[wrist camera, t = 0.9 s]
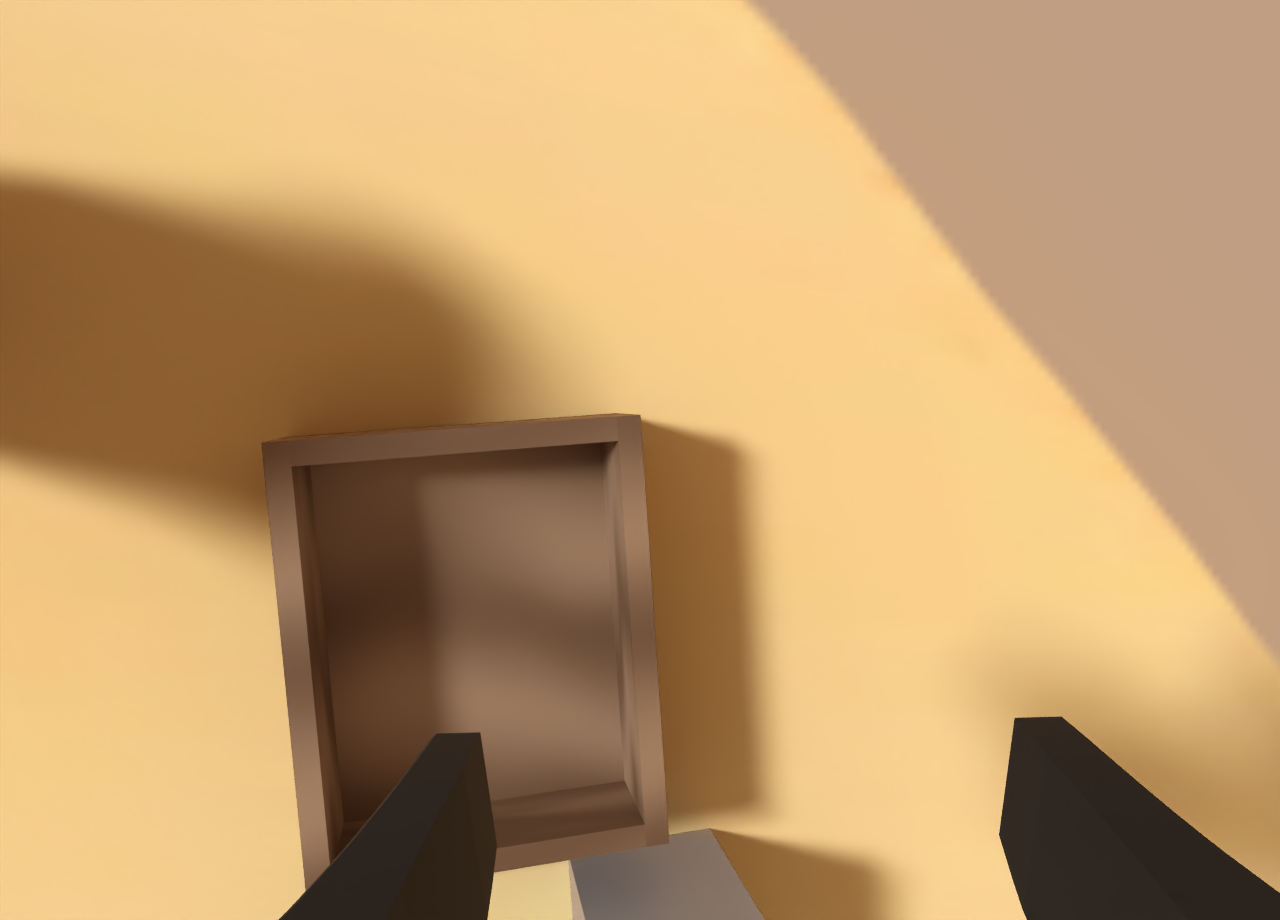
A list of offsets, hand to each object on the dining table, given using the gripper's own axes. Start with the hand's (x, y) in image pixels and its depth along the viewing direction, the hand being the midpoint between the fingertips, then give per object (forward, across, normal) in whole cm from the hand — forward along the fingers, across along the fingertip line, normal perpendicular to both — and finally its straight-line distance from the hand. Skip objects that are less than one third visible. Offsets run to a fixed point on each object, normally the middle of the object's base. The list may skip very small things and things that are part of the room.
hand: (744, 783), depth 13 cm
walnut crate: (+16, +8, +7) cm, 19 cm away
